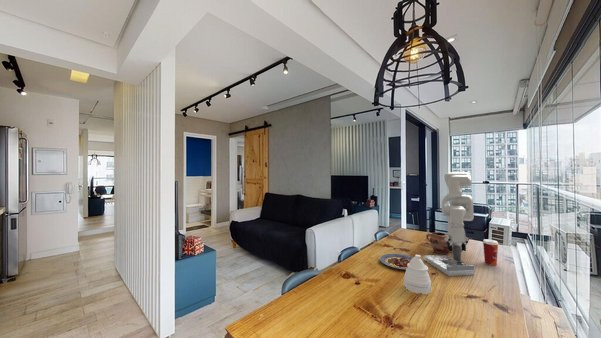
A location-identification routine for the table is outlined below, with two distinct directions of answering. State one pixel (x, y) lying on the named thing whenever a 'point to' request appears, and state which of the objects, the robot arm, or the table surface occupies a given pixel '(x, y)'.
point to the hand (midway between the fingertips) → (456, 250)
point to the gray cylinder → (457, 252)
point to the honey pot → (417, 276)
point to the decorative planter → (438, 242)
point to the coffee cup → (490, 251)
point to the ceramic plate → (396, 260)
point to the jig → (449, 265)
